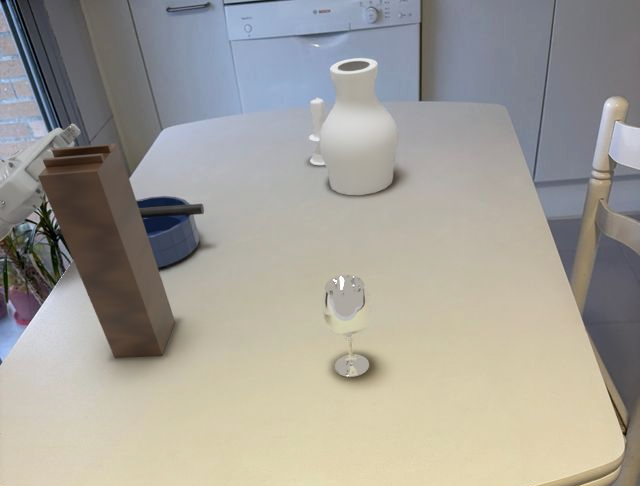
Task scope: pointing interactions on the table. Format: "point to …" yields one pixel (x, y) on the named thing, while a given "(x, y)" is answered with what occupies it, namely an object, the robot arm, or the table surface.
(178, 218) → the bowl
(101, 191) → the stand
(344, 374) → the wineglass
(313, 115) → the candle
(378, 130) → the vase
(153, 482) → the table surface
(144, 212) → the chopstick
